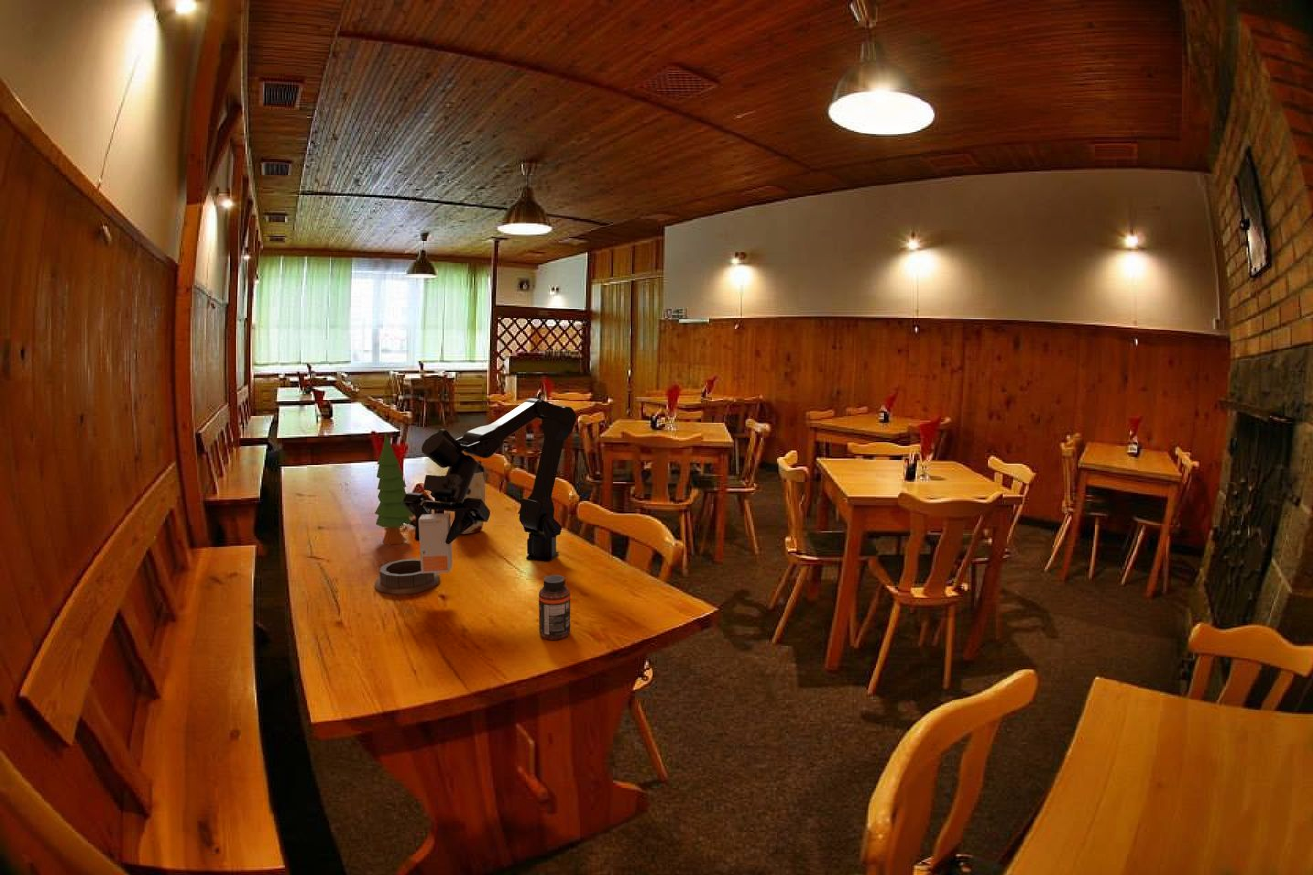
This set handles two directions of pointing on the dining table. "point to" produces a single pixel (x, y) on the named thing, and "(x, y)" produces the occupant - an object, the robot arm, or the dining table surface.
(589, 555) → the dining table surface
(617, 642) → the dining table surface
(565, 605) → the supplement bottle
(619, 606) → the dining table surface
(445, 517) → the skincare box
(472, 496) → the food model
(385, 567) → the stone fire pit
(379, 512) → the decorative tree
